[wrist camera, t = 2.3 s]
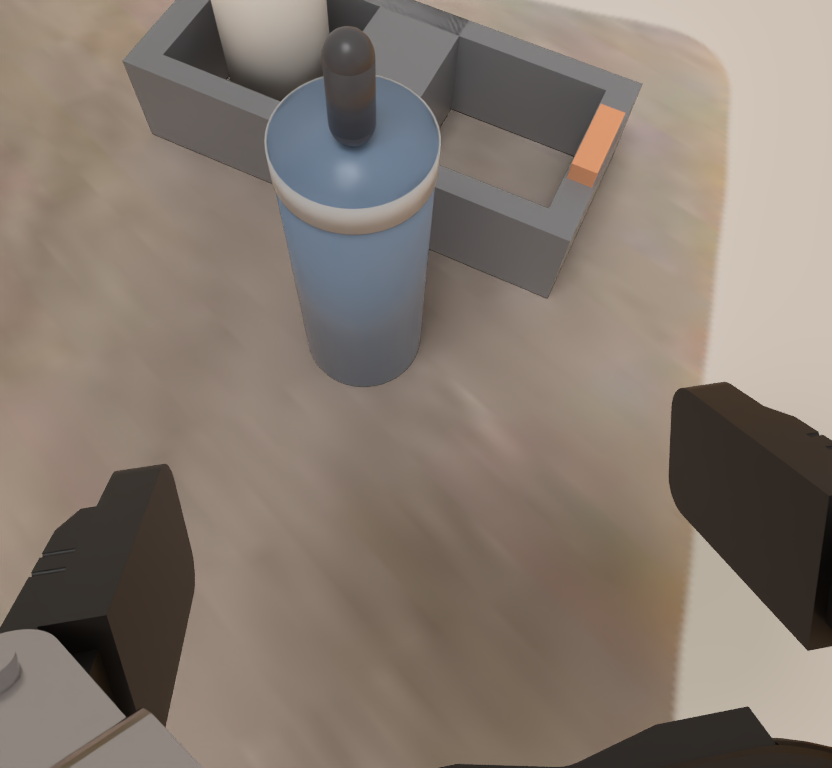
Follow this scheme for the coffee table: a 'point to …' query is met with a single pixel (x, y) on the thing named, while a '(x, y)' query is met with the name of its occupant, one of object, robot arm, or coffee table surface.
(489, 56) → the gray two-compartment caddy
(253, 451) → the coffee table surface
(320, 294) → the canister
